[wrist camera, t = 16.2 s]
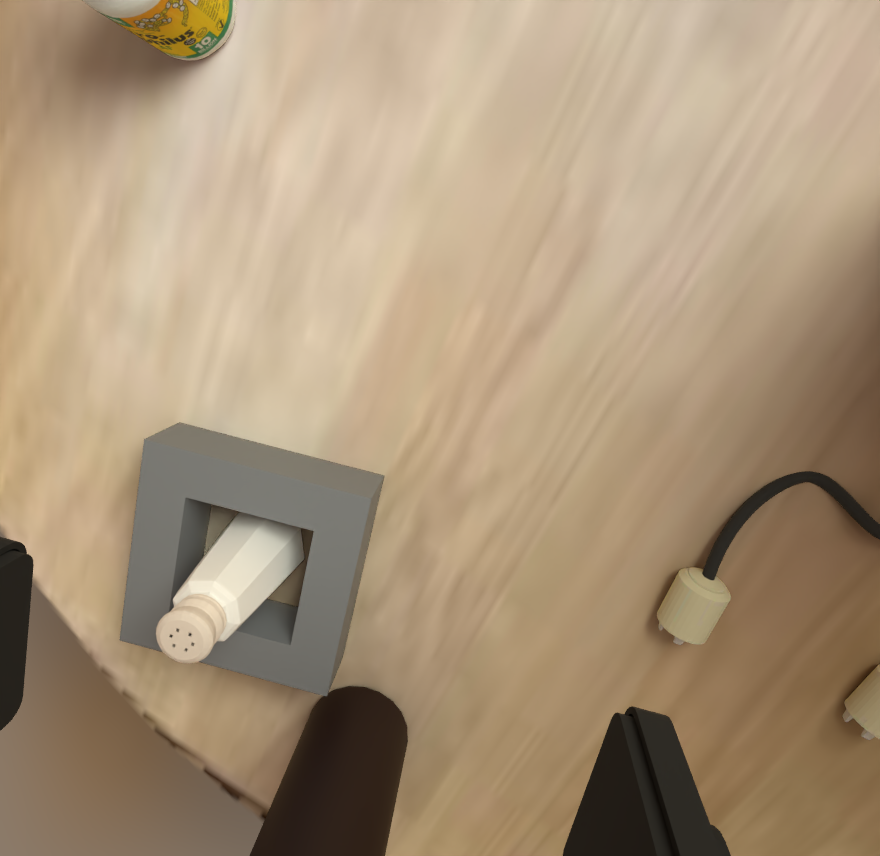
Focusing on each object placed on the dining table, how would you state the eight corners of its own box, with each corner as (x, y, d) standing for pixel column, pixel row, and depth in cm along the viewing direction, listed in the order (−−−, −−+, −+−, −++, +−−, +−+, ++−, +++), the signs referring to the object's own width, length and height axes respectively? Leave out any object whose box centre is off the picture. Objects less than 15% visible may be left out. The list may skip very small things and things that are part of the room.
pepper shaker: (215, 565, 42) (116, 667, 31) (235, 490, 40) (139, 571, 30) (293, 593, 42) (222, 705, 31) (317, 520, 40) (250, 611, 30)
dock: (384, 475, 39) (371, 498, 35) (342, 657, 42) (326, 696, 39) (179, 422, 39) (144, 439, 36) (154, 606, 43) (119, 640, 39)
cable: (773, 395, 36) (802, 408, 33) (1029, 518, 37) (1082, 543, 33) (636, 616, 40) (649, 647, 37) (868, 725, 41) (902, 766, 37)
